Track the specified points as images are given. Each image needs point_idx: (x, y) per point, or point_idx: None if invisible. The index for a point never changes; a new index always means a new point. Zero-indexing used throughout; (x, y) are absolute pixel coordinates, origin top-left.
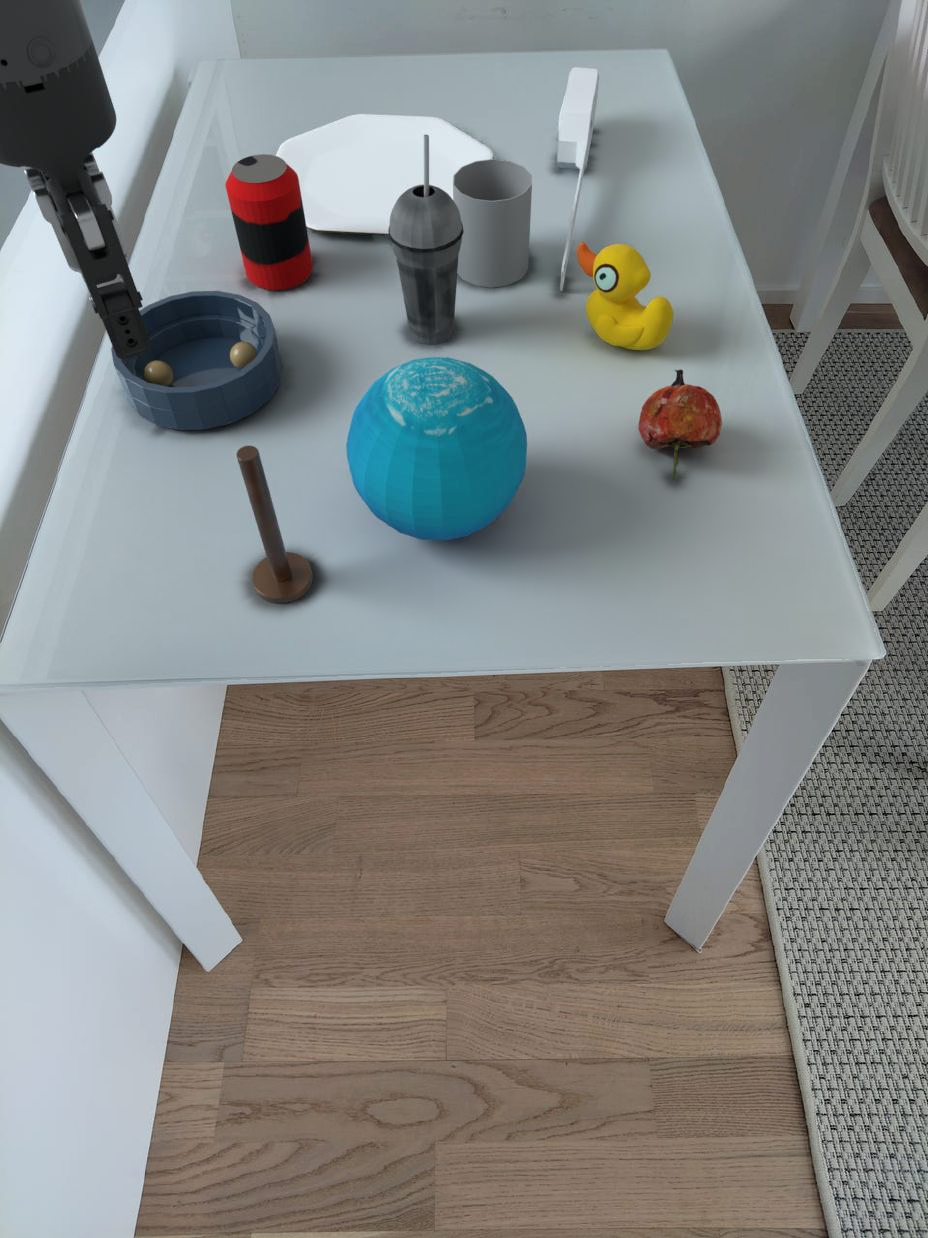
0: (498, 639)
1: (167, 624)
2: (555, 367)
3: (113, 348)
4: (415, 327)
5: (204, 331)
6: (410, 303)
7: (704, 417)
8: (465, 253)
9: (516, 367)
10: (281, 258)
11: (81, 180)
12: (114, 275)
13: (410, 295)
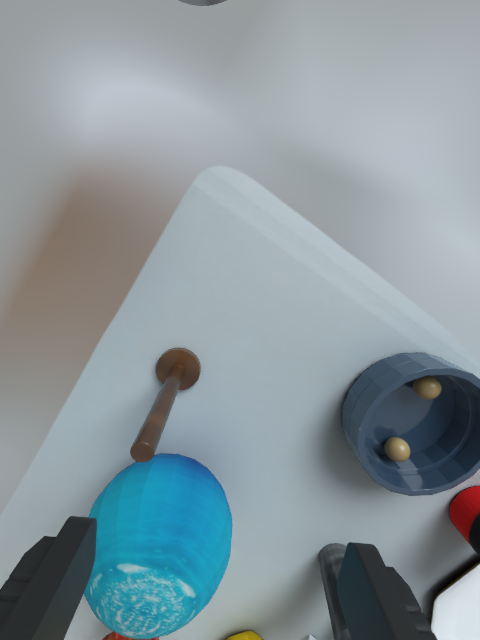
0: (58, 453)
1: (189, 282)
2: (247, 595)
3: (80, 528)
4: (335, 556)
5: (450, 435)
6: None
7: None
8: None
9: (263, 577)
10: (473, 528)
11: None
12: (340, 591)
13: None
